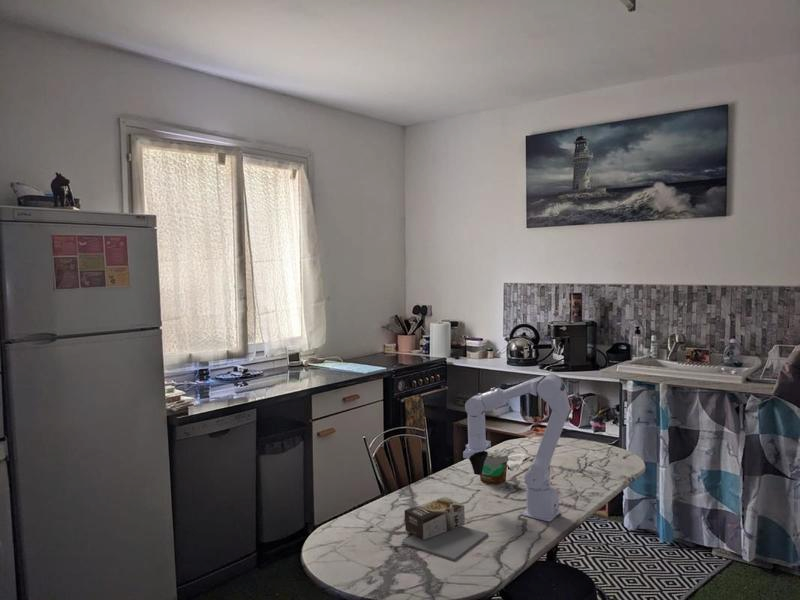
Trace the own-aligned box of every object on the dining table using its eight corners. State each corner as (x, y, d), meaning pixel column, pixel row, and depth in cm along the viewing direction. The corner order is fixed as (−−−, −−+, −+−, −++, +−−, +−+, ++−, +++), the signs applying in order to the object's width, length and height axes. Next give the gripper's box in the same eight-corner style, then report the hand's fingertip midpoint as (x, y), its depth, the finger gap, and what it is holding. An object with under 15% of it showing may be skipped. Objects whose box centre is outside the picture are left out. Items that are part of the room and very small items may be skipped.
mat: (487, 535, 172) (487, 533, 172) (454, 561, 158) (454, 558, 158) (436, 521, 184) (436, 519, 183) (401, 544, 169) (401, 542, 169)
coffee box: (464, 504, 178) (422, 519, 169) (465, 525, 179) (423, 541, 169) (444, 495, 186) (403, 509, 176) (445, 515, 186) (404, 530, 176)
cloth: (517, 452, 250) (517, 446, 249) (545, 458, 240) (545, 453, 240) (478, 468, 232) (478, 462, 231) (507, 476, 222) (507, 470, 222)
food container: (471, 483, 214) (470, 456, 214) (477, 477, 220) (476, 451, 219) (504, 487, 209) (503, 459, 208) (509, 481, 214) (508, 454, 214)
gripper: (477, 426, 201) (478, 465, 202) (454, 436, 189) (455, 478, 190) (495, 429, 197) (496, 469, 197) (473, 440, 185) (474, 482, 186)
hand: (477, 474), depth 194 cm, fingers closed
